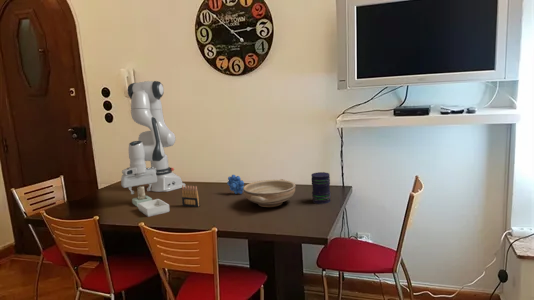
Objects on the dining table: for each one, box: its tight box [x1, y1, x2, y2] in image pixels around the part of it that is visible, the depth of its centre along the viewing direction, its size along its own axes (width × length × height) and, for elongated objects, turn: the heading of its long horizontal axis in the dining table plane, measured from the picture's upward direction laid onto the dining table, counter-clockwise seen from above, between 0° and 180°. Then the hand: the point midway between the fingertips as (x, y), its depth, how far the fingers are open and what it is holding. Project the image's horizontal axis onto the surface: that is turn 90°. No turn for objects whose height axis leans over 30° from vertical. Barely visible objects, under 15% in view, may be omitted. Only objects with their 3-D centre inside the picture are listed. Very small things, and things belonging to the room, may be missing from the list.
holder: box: [131, 195, 153, 208], centre depth 246 cm, size 9×9×3 cm
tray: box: [137, 198, 171, 218], centre depth 229 cm, size 12×16×4 cm
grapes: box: [227, 174, 245, 195], centre depth 251 cm, size 12×7×12 cm, turn 65°
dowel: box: [136, 185, 146, 200], centre depth 245 cm, size 4×4×10 cm
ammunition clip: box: [181, 185, 201, 208], centre depth 233 cm, size 11×2×12 cm, turn 65°
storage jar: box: [311, 171, 332, 205], centre depth 225 cm, size 10×10×15 cm
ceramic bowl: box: [242, 178, 296, 208], centre depth 228 cm, size 37×29×10 cm
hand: (140, 192), depth 244 cm, fingers open, 8 cm apart
